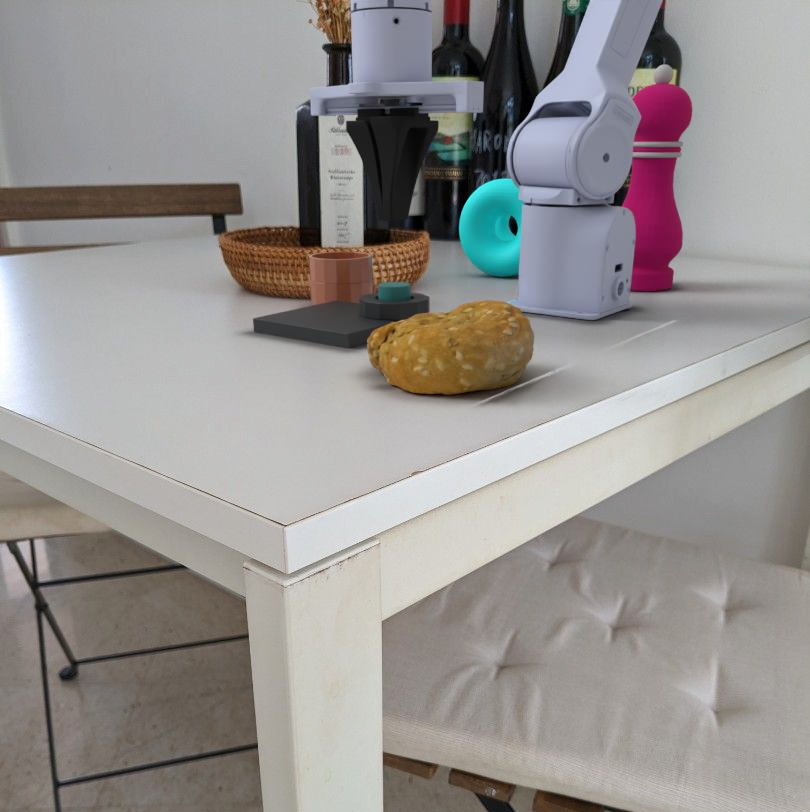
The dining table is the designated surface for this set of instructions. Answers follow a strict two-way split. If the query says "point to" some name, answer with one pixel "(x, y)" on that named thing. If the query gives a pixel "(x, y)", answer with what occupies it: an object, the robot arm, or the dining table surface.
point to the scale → (340, 320)
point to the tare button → (394, 291)
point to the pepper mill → (657, 180)
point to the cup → (340, 276)
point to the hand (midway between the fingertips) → (393, 220)
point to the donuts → (492, 228)
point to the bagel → (454, 349)
